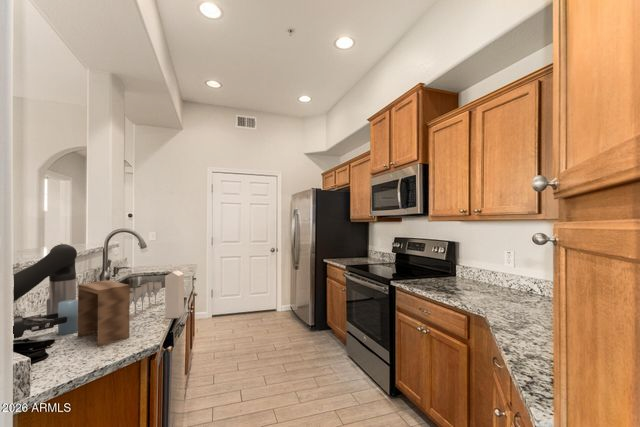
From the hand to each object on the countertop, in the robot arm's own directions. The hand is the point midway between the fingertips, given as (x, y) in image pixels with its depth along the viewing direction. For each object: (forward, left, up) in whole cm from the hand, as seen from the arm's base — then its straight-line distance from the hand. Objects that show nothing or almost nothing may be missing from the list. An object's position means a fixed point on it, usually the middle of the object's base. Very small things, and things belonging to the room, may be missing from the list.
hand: (62, 317), depth 117 cm
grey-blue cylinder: (+1, +2, -6) cm, 7 cm away
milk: (+38, +10, -7) cm, 40 cm away
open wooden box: (+16, -8, -6) cm, 19 cm away
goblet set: (+22, +23, -7) cm, 33 cm away
